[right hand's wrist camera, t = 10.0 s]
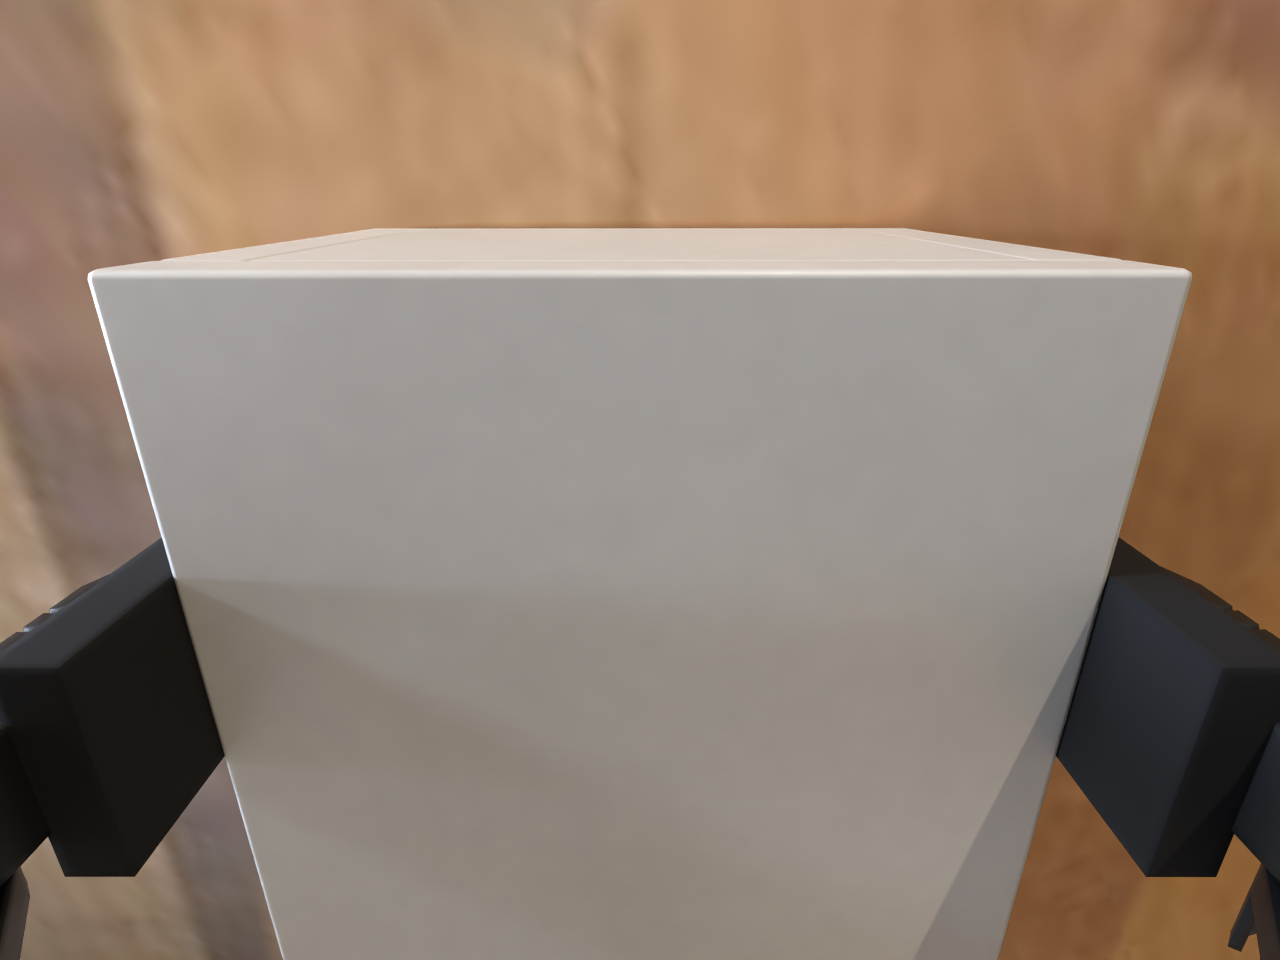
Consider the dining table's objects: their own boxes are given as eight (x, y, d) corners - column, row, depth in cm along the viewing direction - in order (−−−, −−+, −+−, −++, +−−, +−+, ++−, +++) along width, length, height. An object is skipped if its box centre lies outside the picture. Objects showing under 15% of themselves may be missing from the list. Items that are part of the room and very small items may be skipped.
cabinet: (819, 873, 21) (917, 1246, 14) (460, 874, 21) (363, 1247, 14) (905, 228, 14) (1200, 269, 7) (373, 228, 14) (79, 270, 7)
